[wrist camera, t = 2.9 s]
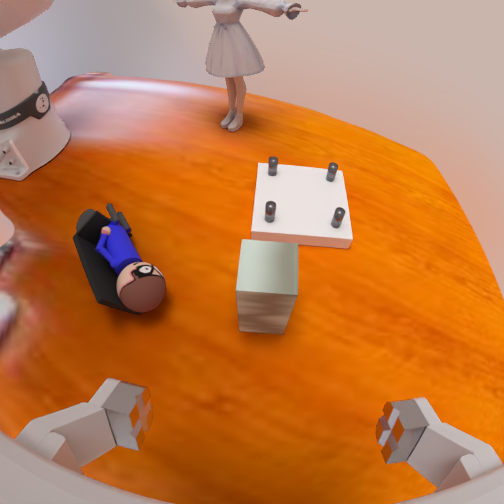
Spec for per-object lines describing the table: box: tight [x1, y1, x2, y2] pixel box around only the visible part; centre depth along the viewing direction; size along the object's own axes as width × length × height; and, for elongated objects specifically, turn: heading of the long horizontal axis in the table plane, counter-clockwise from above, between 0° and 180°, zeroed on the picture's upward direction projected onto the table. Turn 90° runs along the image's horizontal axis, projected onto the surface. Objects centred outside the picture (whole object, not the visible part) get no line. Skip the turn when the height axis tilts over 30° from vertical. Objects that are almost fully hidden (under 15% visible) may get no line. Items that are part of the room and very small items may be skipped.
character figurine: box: [73, 203, 166, 315], centre depth 30 cm, size 8×7×15 cm
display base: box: [251, 157, 353, 249], centre depth 37 cm, size 12×12×4 cm
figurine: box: [174, 0, 307, 132], centre depth 37 cm, size 25×8×30 cm, turn 51°
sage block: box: [236, 239, 298, 334], centre depth 27 cm, size 4×4×10 cm
